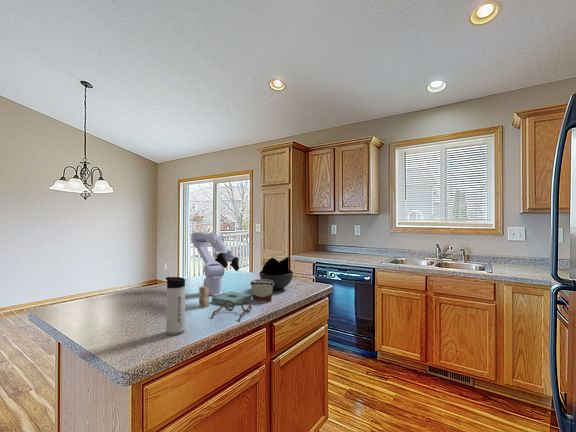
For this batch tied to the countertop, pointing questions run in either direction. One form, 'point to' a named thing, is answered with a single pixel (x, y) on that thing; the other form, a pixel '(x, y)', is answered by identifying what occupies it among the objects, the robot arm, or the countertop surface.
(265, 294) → the food container
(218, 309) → the glasses
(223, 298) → the holder plate
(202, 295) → the wood stick
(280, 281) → the bowl of black rocks
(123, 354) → the countertop surface
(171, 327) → the travel mug
